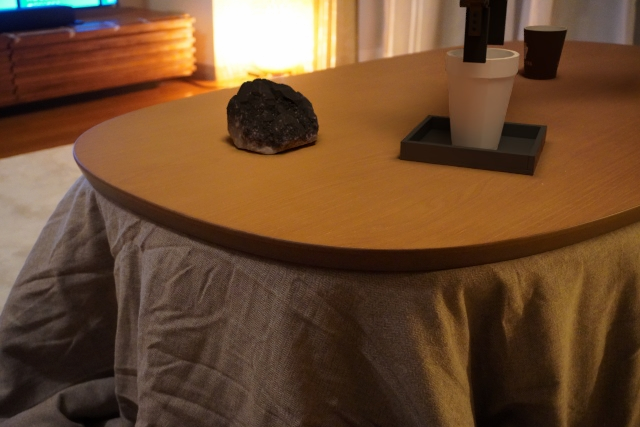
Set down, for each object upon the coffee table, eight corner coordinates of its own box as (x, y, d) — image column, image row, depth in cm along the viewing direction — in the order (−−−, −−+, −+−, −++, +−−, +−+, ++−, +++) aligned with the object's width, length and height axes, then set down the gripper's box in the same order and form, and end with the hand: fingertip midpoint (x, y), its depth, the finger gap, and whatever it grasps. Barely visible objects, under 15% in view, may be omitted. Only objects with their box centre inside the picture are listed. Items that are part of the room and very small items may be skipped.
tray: (545, 142, 91) (547, 125, 90) (532, 175, 79) (535, 155, 78) (427, 130, 98) (428, 114, 96) (399, 159, 85) (400, 141, 84)
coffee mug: (556, 82, 127) (563, 31, 123) (514, 78, 131) (519, 29, 127) (567, 71, 136) (573, 24, 132) (526, 68, 140) (532, 23, 136)
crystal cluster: (331, 153, 90) (333, 84, 87) (239, 157, 86) (239, 84, 83) (302, 136, 102) (303, 74, 99) (220, 138, 98) (219, 74, 95)
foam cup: (490, 134, 93) (499, 46, 88) (521, 153, 85) (533, 57, 79) (430, 139, 91) (435, 49, 86) (456, 159, 83) (464, 61, 78)
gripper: (485, -120, 86) (475, 37, 94) (441, -135, 65) (432, 69, 74) (542, -124, 83) (526, 39, 91) (515, -140, 62) (497, 72, 71)
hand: (484, 53), depth 83 cm, fingers open, 13 cm apart
